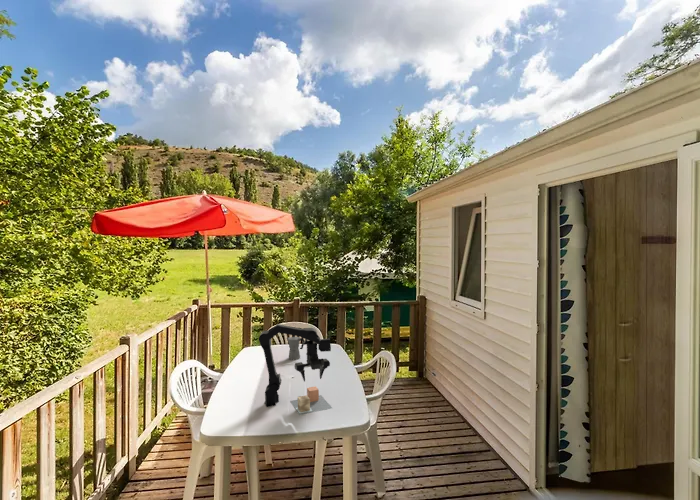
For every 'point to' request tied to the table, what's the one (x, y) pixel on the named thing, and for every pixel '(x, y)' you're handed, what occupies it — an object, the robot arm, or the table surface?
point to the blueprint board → (313, 405)
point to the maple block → (303, 403)
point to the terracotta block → (313, 393)
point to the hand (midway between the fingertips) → (312, 380)
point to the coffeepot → (294, 347)
